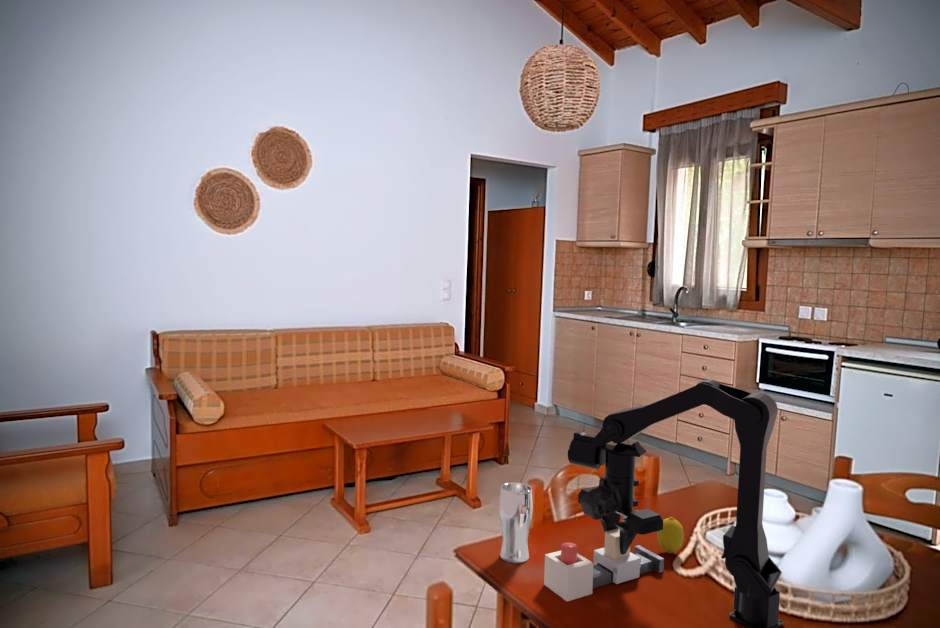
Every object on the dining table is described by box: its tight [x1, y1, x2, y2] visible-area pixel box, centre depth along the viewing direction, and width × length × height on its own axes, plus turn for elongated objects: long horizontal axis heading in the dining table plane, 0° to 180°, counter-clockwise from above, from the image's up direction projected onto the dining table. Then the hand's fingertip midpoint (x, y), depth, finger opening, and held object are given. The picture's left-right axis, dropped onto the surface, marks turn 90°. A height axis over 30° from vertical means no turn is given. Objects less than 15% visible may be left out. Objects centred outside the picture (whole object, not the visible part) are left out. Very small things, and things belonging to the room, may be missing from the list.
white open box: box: [543, 550, 594, 602], centre depth 118 cm, size 7×6×6 cm
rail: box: [592, 544, 665, 589], centre depth 124 cm, size 7×17×3 cm, turn 120°
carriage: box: [593, 529, 641, 585], centre depth 124 cm, size 7×6×8 cm
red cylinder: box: [560, 541, 578, 565], centre depth 118 cm, size 3×3×5 cm
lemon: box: [656, 516, 685, 554], centre depth 134 cm, size 6×6×8 cm
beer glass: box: [498, 481, 534, 564], centre depth 131 cm, size 7×7×15 cm
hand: (617, 550), depth 124 cm, fingers closed on carriage, 3 cm apart
